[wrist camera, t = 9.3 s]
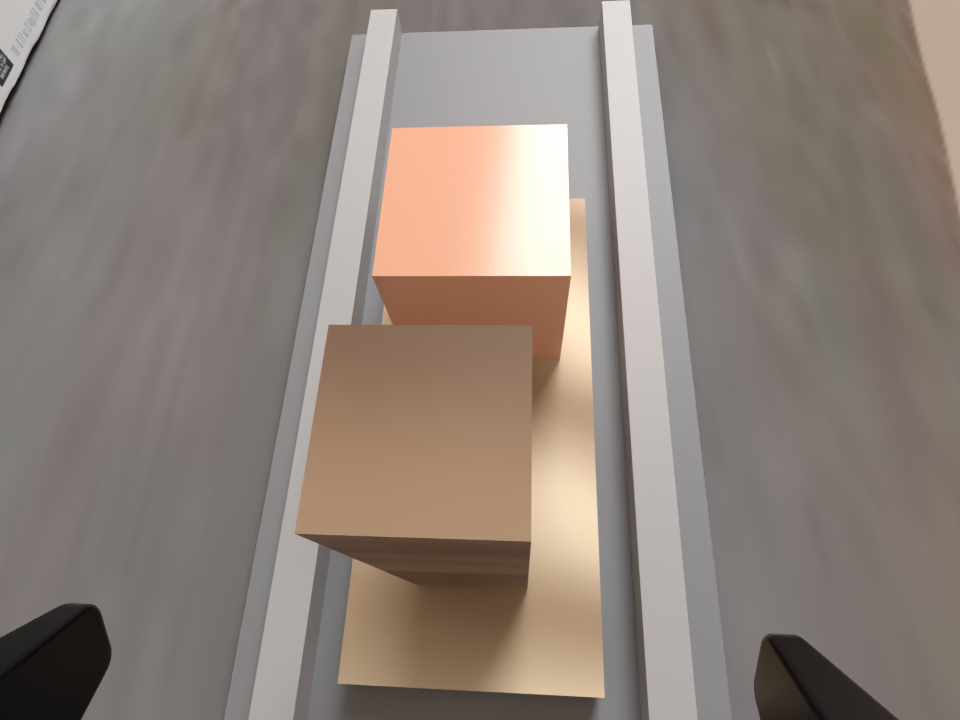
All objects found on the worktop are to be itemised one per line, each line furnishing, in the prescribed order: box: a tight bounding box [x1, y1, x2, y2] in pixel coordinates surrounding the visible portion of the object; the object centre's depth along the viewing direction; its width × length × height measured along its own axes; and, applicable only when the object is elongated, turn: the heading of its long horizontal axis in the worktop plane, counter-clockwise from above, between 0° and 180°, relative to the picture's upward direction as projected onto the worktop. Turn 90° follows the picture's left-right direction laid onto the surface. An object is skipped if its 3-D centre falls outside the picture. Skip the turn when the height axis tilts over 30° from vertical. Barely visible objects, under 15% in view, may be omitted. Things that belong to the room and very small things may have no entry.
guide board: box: [224, 0, 732, 720], centre depth 22 cm, size 30×14×2 cm, turn 178°
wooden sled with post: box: [294, 199, 605, 698], centre depth 15 cm, size 16×7×11 cm, turn 178°
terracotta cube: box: [372, 124, 571, 360], centre depth 18 cm, size 5×5×5 cm
